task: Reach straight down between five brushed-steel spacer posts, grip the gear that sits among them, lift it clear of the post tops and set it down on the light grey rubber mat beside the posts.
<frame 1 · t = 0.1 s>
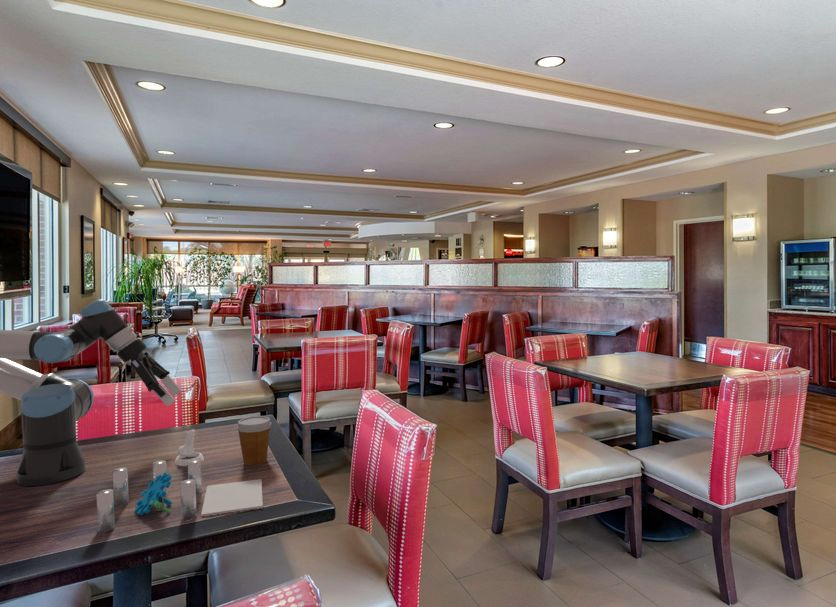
hand: (175, 398, 159), 15 cm above the table, tool tilted 35°, fingers open, 13 cm apart
rubber mat: (233, 497, 123), on the table
disposable coffee cup: (255, 462, 146), on the table
spacer posts: (154, 510, 117), on the table
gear: (154, 511, 117), on the table
hook: (189, 462, 148), on the table
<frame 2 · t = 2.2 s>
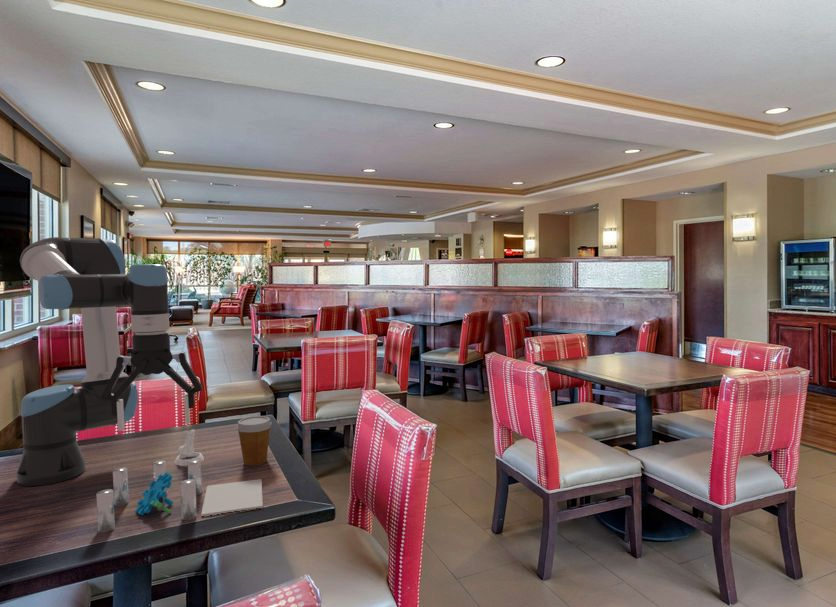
hand: (155, 426, 117), 19 cm above the table, tool pointing down, fingers open, 13 cm apart
nothing on the table moved.
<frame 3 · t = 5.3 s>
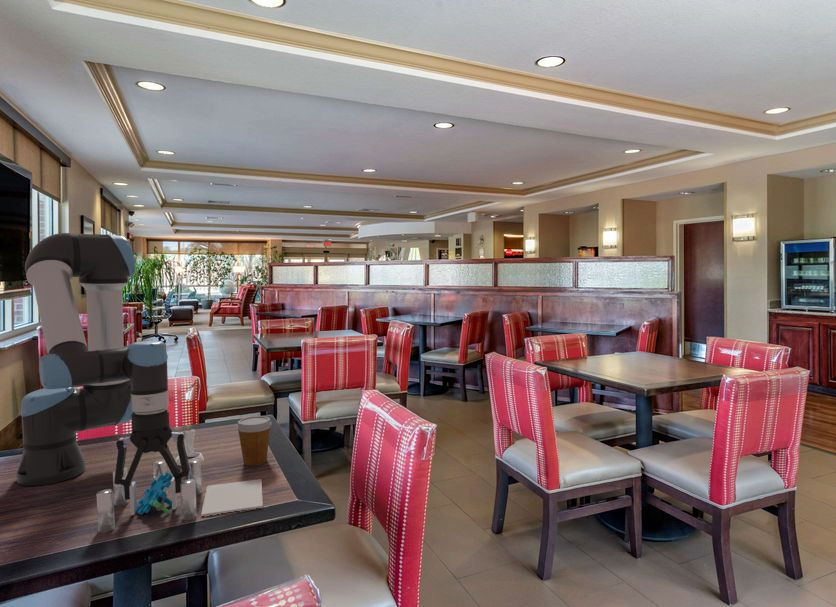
hand: (154, 509, 117), 0 cm above the table, tool pointing down, fingers closed on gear, 8 cm apart
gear: (155, 511, 117), on the table, touching gripper
everything else where it was.
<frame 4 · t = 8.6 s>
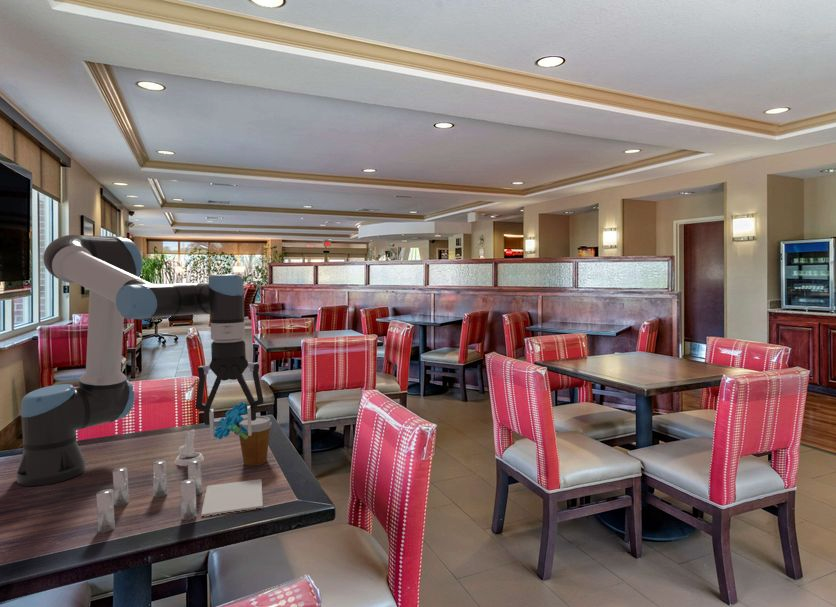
hand: (231, 435, 122), 15 cm above the table, tool pointing down, fingers closed on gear, 8 cm apart
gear: (232, 437, 122), point 15 cm above the table, touching gripper
everything else where it was.
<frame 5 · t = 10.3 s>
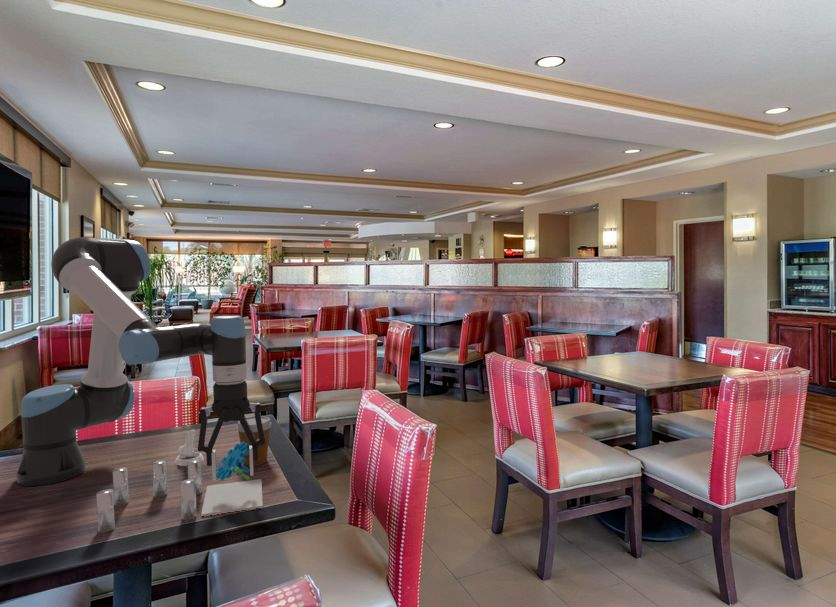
hand: (233, 475, 123), 5 cm above the table, tool pointing down, fingers closed on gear, 8 cm apart
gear: (234, 477, 123), point 5 cm above the table, touching gripper
everything else where it was.
when the fingers open (2 cm above the table, at t = 11.9 s): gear stays where it is, resting on rubber mat.
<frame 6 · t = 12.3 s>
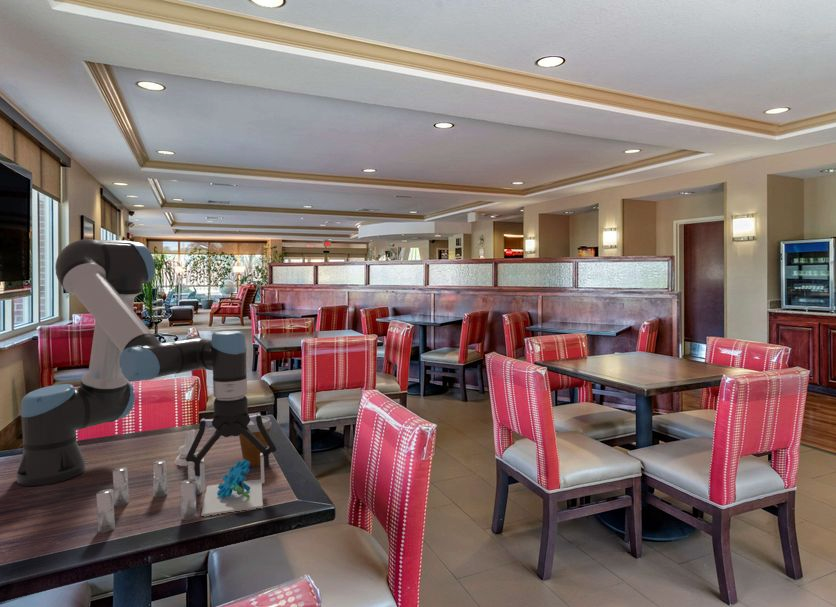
hand: (233, 484, 123), 3 cm above the table, tool pointing down, fingers open, 13 cm apart
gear: (234, 495, 123), resting on rubber mat
everything else where it was.
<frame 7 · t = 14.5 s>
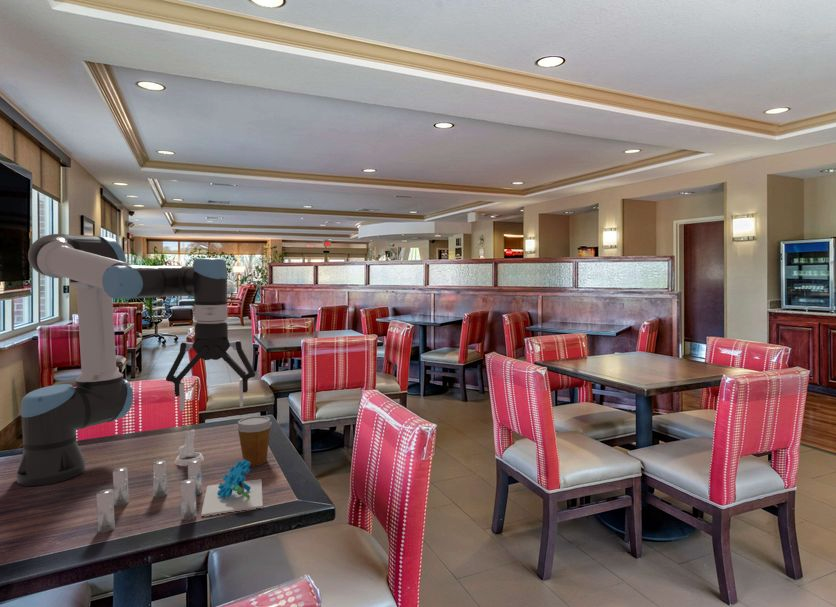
hand: (212, 407, 127), 21 cm above the table, tool pointing down, fingers open, 13 cm apart
nothing on the table moved.
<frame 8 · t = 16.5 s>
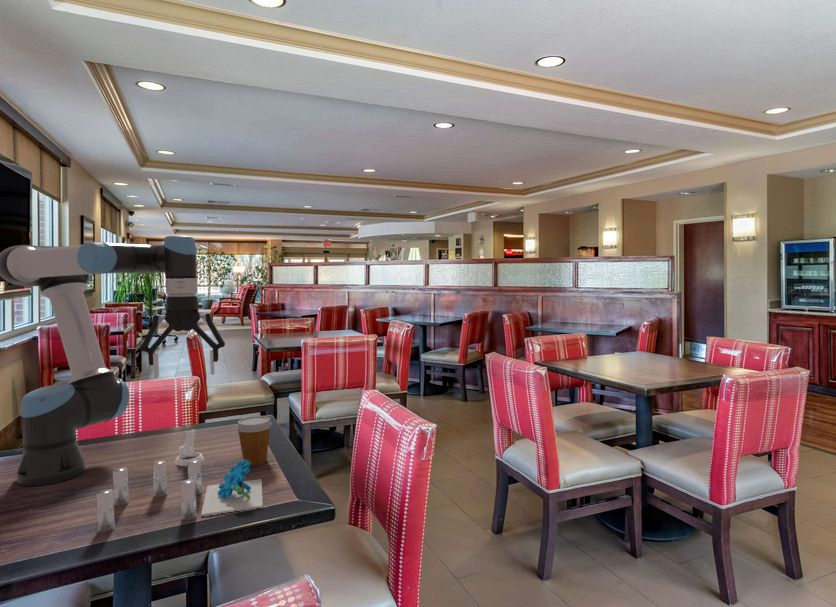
hand: (185, 375, 136), 27 cm above the table, tool pointing down, fingers open, 13 cm apart
nothing on the table moved.
at the end: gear inside the target area on the rubber mat (0.4 cm from its centre), point 0.4 cm above the rubber mat's base; the gripper is holding nothing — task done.
